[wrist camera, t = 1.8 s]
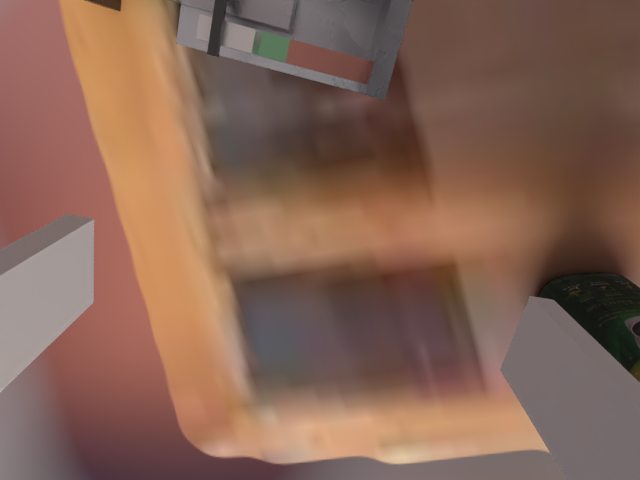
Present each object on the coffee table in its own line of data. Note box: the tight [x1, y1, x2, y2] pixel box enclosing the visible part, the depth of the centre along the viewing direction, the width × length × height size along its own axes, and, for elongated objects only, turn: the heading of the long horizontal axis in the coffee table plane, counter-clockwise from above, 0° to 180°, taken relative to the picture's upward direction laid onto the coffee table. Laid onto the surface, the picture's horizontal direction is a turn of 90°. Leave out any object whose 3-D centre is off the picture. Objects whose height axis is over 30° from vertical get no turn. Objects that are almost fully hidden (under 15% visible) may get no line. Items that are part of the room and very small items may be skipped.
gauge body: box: [176, 0, 413, 99], centre depth 32 cm, size 9×17×7 cm, turn 76°
